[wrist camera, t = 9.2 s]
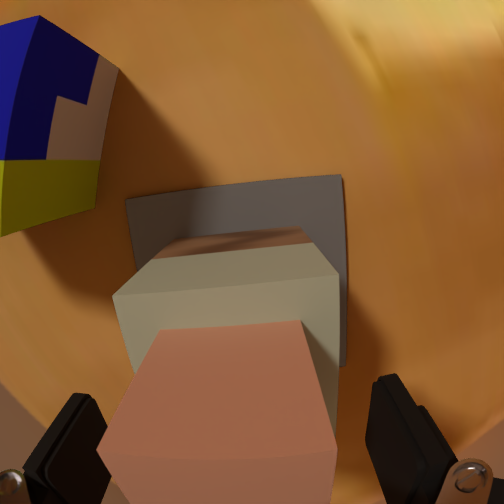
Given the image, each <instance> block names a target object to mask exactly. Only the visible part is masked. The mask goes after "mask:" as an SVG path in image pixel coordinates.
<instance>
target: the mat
mask: <svg viewBox="0 0 504 504" xmlns="http://www.w3.org/2000/svg"><path fill="white" fill-rule="evenodd" d="M125 204H126V211H127V217H128V224H129V230H130V236H131V241H132V247H133V252H134V258H135V263H136V268H137V272H138V271H139V270H140V269H141V268H142V267H144V266H145V265H146V264H147V263H148V262H149V261H150V260H151V259H152V258H153V257H155V256H156V255H157V254H158V253H159V252H160V251H161V250H162V249H163V248H165V247H166V246H167V245H168V244H169V243H170V242H171V241H173V240H174V239H179V238H188V237H196V236H205V235H214V234H223V233H232V232H241V231H251V230H260V229H270V228H280V227H290V226H300V228H301V229H302V230H303V231H304V232H305V233H306V235H307V236H308V237H309V238H310V239H311V241H312V242H313V243H314V244H315V246H316V247H317V248H318V249H319V250H320V252H321V253H322V254H323V255H324V256H325V258H326V259H327V260H328V261H329V263H330V264H331V265H332V266H333V268H334V269H335V270H336V271H337V272H338V274H339V294H340V348H339V367H342V366H346V340H347V272H346V241H345V221H344V205H343V190H342V178H341V175H325V176H311V177H299V178H287V179H276V180H266V181H256V182H247V183H238V184H229V185H221V186H213V187H205V188H198V189H190V190H183V191H176V192H169V193H162V194H156V195H150V196H143V197H137V198H131V199H126V200H125Z"/></svg>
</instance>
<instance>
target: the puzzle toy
mask: <svg viewBox="0 0 504 504" xmlns="http://www.w3.org/2000/svg"><path fill="white" fill-rule="evenodd" d="M118 71H119V68H118V67H117V66H115V65H114V64H112V63H111V62H110V61H108V60H107V59H105V58H104V57H102V56H101V55H100V54H98V53H97V52H95V51H94V50H92V49H91V48H89V47H88V46H86V45H85V44H83V43H82V42H80V41H79V40H77V39H76V38H74V37H73V36H71V35H70V34H68V33H67V32H65V31H64V30H62V29H61V28H59V27H58V26H56V25H54V24H53V23H51V22H50V21H48V20H47V19H45V18H43V17H42V16H40V15H38V16H34V17H30V18H26V19H22V20H18V21H15V22H11V23H8V24H4V25H1V26H0V237H3V236H6V235H9V234H11V233H14V232H17V231H20V230H24V229H27V228H30V227H33V226H36V225H39V224H42V223H46V222H49V221H52V220H55V219H59V218H62V217H65V216H69V215H72V214H76V213H79V212H83V211H86V210H90V209H94V208H95V200H96V191H97V182H98V174H99V167H100V160H101V153H102V147H103V141H104V135H105V130H106V124H107V119H108V114H109V109H110V105H111V100H112V95H113V91H114V87H115V83H116V79H117V75H118Z"/></svg>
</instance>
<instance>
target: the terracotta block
mask: <svg viewBox="0 0 504 504" xmlns="http://www.w3.org/2000/svg"><path fill="white" fill-rule="evenodd" d="M96 450H97V452H98V454H99V455H100V457H101V459H102V461H103V462H104V464H105V466H106V467H107V469H108V471H109V472H110V474H111V475H112V477H113V479H114V480H115V482H116V483H117V485H118V486H119V488H120V489H121V491H122V492H123V494H124V495H125V497H126V498H127V500H128V501H129V502H130V504H330V501H331V494H332V488H333V481H334V474H335V467H336V460H337V452H338V448H337V445H336V441H335V437H334V434H333V430H332V427H331V423H330V419H329V416H328V412H327V409H326V405H325V402H324V398H323V395H322V391H321V388H320V385H319V381H318V378H317V374H316V371H315V367H314V364H313V361H312V357H311V354H310V351H309V347H308V344H307V341H306V337H305V334H304V331H303V327H302V324H301V321H300V320H292V321H282V322H271V323H260V324H248V325H235V326H220V327H204V328H184V329H160V330H159V332H158V334H157V336H156V337H155V339H154V341H153V343H152V345H151V346H150V348H149V350H148V352H147V354H146V356H145V357H144V359H143V361H142V363H141V365H140V367H139V369H138V370H137V372H136V374H135V376H134V378H133V380H132V382H131V383H130V385H129V387H128V389H127V391H126V393H125V395H124V397H123V399H122V400H121V402H120V404H119V406H118V408H117V410H116V412H115V414H114V416H113V418H112V420H111V422H110V424H109V426H108V428H107V430H106V431H105V433H104V435H103V437H102V439H101V441H100V443H99V445H98V447H97V449H96Z"/></svg>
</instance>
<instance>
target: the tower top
mask: <svg viewBox="0 0 504 504" xmlns="http://www.w3.org/2000/svg"><path fill="white" fill-rule="evenodd" d="M112 298H113V302H114V306H115V310H116V314H117V317H118V321H119V325H120V328H121V332H122V335H123V339H124V342H125V345H126V349H127V352H128V355H129V358H130V361H131V365H132V368H133V371H134V374H136V372H137V370H138V369H139V367H140V365H141V363H142V361H143V359H144V357H145V356H146V354H147V352H148V350H149V348H150V346H151V345H152V343H153V341H154V339H155V337H156V336H157V334H158V332H159V330H160V329H184V328H204V327H220V326H235V325H248V324H260V323H271V322H282V321H292V320H300V321H301V324H302V327H303V331H304V334H305V337H306V341H307V344H308V347H309V351H310V354H311V357H312V361H313V364H314V367H315V371H316V374H317V378H318V381H319V385H320V388H321V391H322V395H323V398H324V402H325V405H326V409H327V412H328V416H329V419H330V423H331V427H332V430H333V434H334V437H335V436H336V422H337V405H338V384H339V348H340V294H339V274H338V272H337V271H336V270H335V269H334V268H333V266H332V265H331V264H330V263H329V261H328V260H327V259H326V258H325V256H324V255H323V254H322V253H321V252H320V250H319V249H318V248H317V247H316V246H315V244H314V243H304V244H294V245H284V246H275V247H265V248H255V249H246V250H236V251H227V252H217V253H208V254H198V255H189V256H179V257H170V258H160V259H151V260H150V261H149V262H148V263H147V264H146V265H145V266H144V267H142V268H141V269H140V270H139V271H138V272H137V273H136V274H135V275H134V276H133V277H132V278H130V279H129V280H128V281H127V282H126V283H125V284H124V285H123V286H122V287H121V288H120V289H119V290H118V291H117V292H115V293H114V294H113V295H112Z"/></svg>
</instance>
